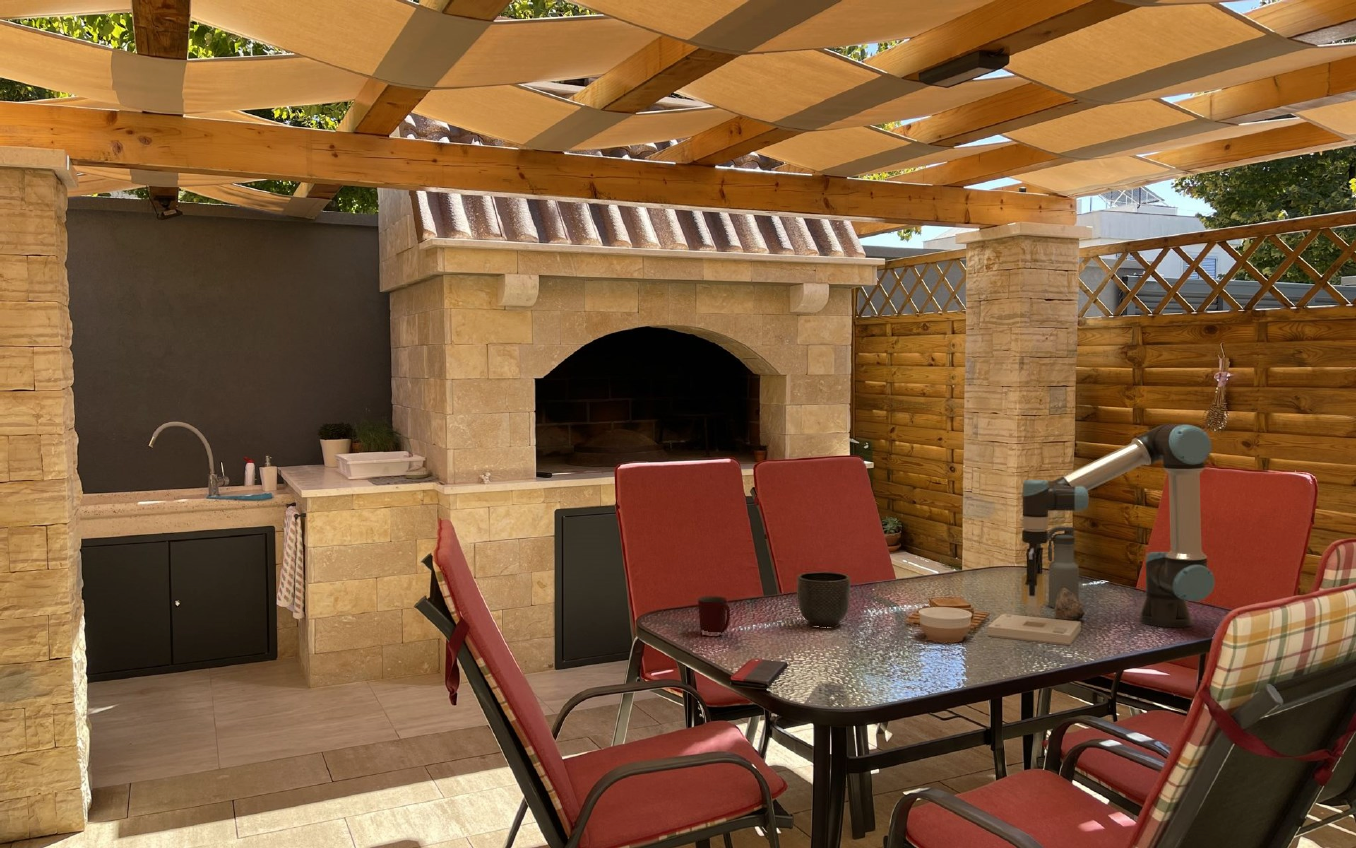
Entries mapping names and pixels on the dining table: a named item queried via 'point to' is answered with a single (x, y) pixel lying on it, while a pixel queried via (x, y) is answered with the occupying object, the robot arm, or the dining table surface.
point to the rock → (1068, 606)
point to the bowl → (945, 623)
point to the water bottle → (1062, 564)
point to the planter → (823, 597)
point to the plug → (1040, 594)
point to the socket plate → (1035, 629)
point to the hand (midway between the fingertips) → (1034, 604)
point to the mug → (713, 614)
